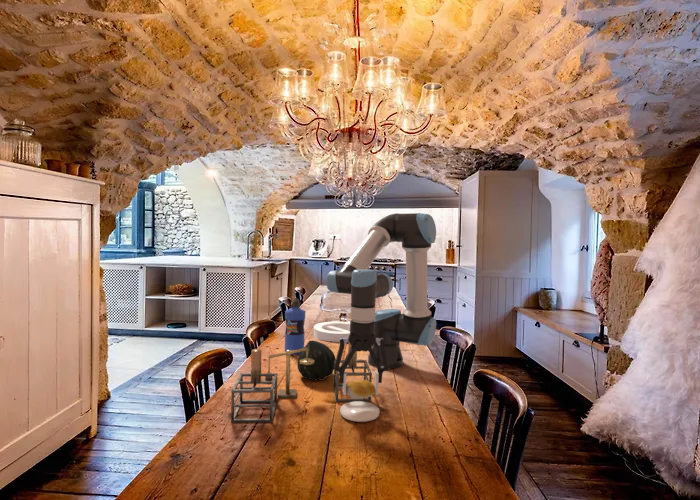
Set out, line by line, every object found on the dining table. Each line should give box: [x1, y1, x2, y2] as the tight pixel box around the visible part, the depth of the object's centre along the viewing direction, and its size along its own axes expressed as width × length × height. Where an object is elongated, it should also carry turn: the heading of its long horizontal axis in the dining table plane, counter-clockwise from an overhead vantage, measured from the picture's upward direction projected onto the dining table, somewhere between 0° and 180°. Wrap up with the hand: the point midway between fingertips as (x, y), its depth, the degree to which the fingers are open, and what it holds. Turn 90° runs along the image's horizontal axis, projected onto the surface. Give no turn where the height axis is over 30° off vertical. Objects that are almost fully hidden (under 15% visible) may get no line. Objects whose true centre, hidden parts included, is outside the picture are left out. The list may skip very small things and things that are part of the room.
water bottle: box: [284, 297, 306, 356], centre depth 180 cm, size 9×9×25 cm
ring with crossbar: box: [313, 321, 350, 343], centre depth 214 cm, size 28×28×5 cm
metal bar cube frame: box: [333, 342, 373, 403], centre depth 135 cm, size 12×14×19 cm
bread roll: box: [346, 379, 375, 399], centre depth 120 cm, size 8×9×4 cm
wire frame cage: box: [230, 348, 278, 424], centre depth 119 cm, size 12×14×19 cm
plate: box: [339, 401, 380, 423], centre depth 119 cm, size 12×12×2 cm
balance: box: [261, 348, 314, 399], centre depth 132 cm, size 18×5×16 cm, turn 95°
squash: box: [297, 340, 336, 381], centre depth 150 cm, size 14×15×15 cm
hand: (360, 393), depth 119 cm, fingers closed on bread roll, 9 cm apart
